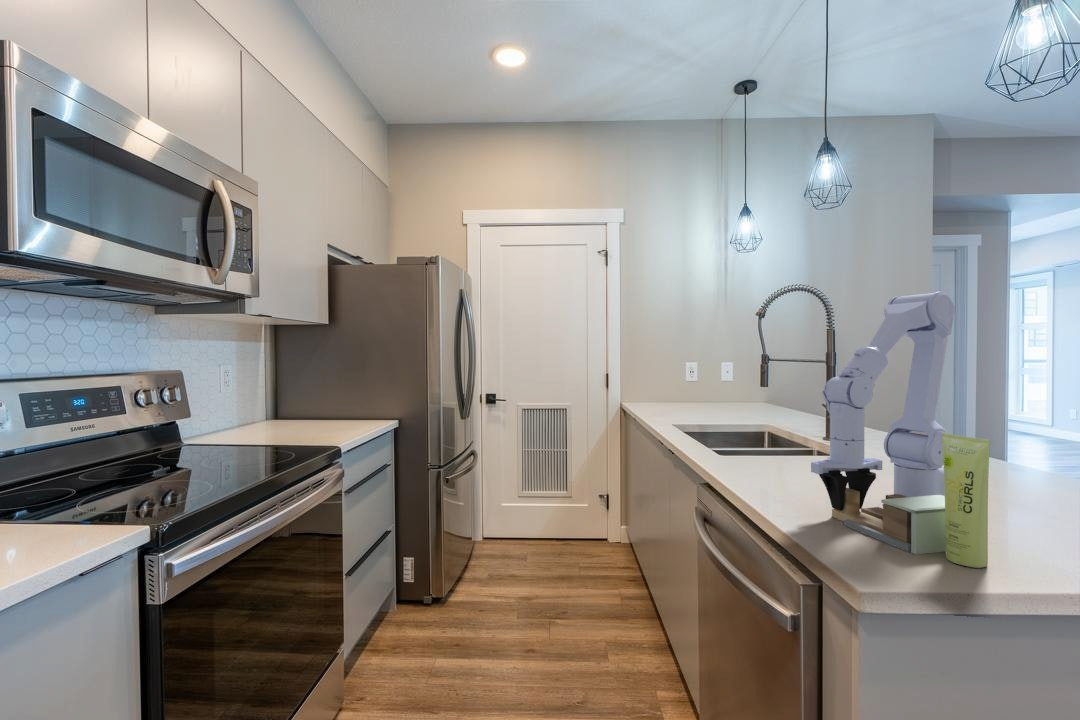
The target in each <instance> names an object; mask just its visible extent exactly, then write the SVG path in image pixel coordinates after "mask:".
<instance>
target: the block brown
mask: <svg viewBox="0 0 1080 720" xmlns="http://www.w3.org/2000/svg"><path fill="white" fill-rule="evenodd" d="M906 497H907V496H904V495H900V494H894V493H892V494H886V495H885V499H894V498H906ZM860 512H863V513H865V514H868V515H871V516H873V517H876V518H879V519H881V520H883V507H880V506H875V507H862V509H860Z"/></svg>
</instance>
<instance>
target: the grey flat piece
mask: <svg viewBox="0 0 1080 720" xmlns="http://www.w3.org/2000/svg"><path fill="white" fill-rule="evenodd" d="M843 526H846V527H848V528H850V529H852V530H855V531H858V532H860V533H863V534H864V535H867V536H869V537H872V538H873V539H877V540H879V541H881V542H883V543H886V544H888V545H890V546H892V547H895V548H897V549H900V550H902V551H904V552H908V553H911V544H909V543H906V542H904V541H901V540H899V539H896V538H894V537H891V536H889V535H886V534H884V533H881V532H879V531H876V530H874V529H871V528H869V527H866V526H864V525H861V524H859V523H856V522H854V521H851V520H849V519H847V520H844V521H843Z"/></svg>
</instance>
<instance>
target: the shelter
mask: <svg viewBox="0 0 1080 720" xmlns="http://www.w3.org/2000/svg"><path fill="white" fill-rule="evenodd" d="M880 502H881V503H882V504H883V503H885V504H888V505H890V506H893V507H896V508H899V509H902V510H905V511H908V512H911V552H910V553H912V554H914V555H922V554H930V553H931V554H933V553H941V552H946V530H945V496H943V495H931V496H918V497H906V498H894V499H886V498H884V499H883V498H882V499H881V501H880Z"/></svg>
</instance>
